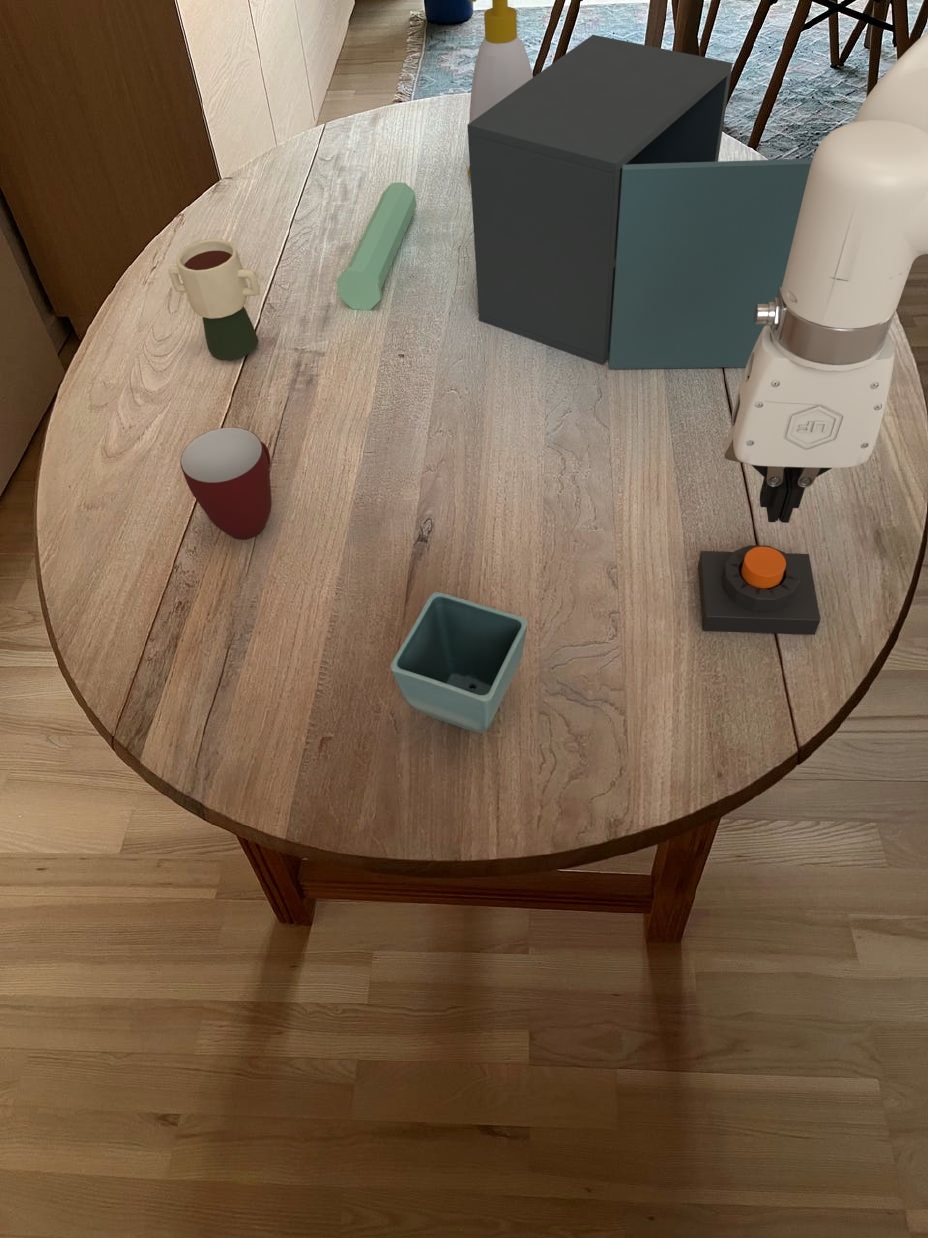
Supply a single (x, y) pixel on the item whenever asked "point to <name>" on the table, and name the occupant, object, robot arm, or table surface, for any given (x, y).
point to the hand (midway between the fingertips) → (776, 510)
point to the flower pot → (459, 660)
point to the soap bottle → (498, 60)
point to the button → (763, 567)
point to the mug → (230, 479)
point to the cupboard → (579, 180)
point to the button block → (756, 596)
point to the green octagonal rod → (377, 248)
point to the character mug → (218, 295)
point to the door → (700, 259)
